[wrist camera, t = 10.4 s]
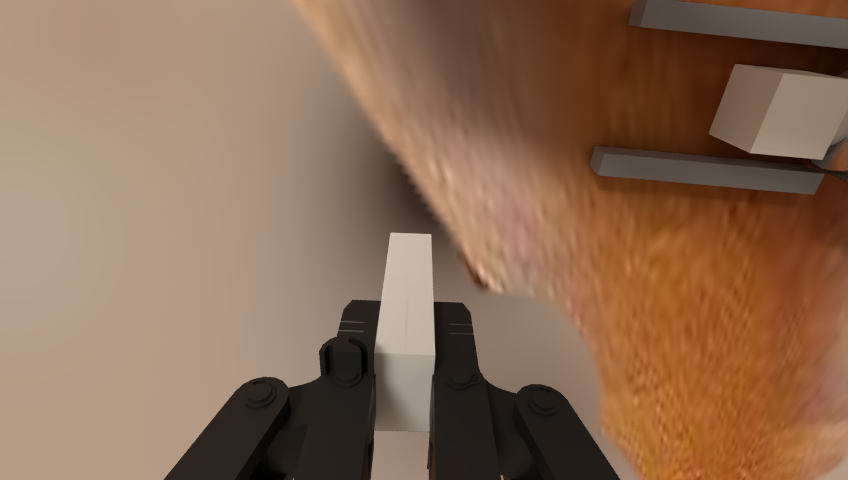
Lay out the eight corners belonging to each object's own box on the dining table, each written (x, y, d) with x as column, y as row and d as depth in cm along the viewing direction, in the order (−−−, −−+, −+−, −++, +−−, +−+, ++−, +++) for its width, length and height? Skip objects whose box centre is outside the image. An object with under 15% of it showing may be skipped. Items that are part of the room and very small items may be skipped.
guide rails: (634, -3, 37) (648, -3, 34) (874, 23, 38) (902, 25, 35) (589, 166, 43) (598, 175, 41) (794, 184, 44) (814, 194, 42)
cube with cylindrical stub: (734, 63, 39) (783, 73, 34) (819, 72, 39) (881, 83, 34) (707, 133, 42) (749, 153, 36) (787, 141, 42) (840, 161, 37)
